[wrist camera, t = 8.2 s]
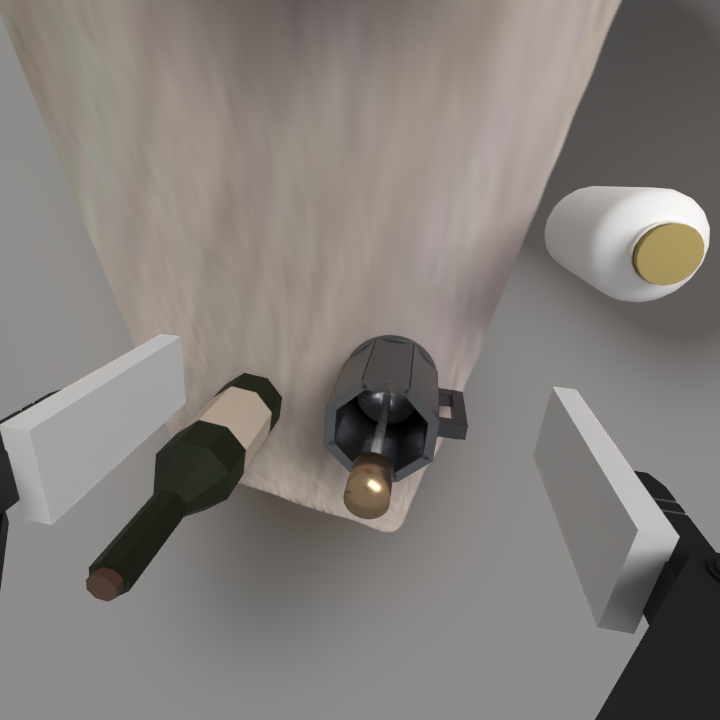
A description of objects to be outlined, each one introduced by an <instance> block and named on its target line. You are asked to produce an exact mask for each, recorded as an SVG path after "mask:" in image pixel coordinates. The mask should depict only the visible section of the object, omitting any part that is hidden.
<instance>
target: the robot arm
mask: <svg viewBox="0 0 720 720" xmlns="http://www.w3.org/2000/svg"><path fill="white" fill-rule="evenodd" d="M185 404H186V398H185V385H184V371H183V358H182V345H181V336H174V335H167V334H160V335H158V336H156V337H154V338H153V339H151V340H149V341H147V342H146V343H144V344H142V345H140V346H138V347H137V348H135V349H133V350H131V351H130V352H128V353H126V354H124V355H123V356H121V357H119V358H117V359H115V360H114V361H112V362H110V363H108V364H107V365H105V366H103V367H101V368H99V369H98V370H96V371H94V372H92V373H91V374H89V375H87V376H85V377H84V378H82V379H80V380H78V381H76V382H75V383H73V384H71V385H69V386H68V387H66V388H64V389H61V390H58V391H55V392H52V393H49V394H47V395H46V396H44V397H42V398H40V399H39V400H37V401H35V402H34V404H32V403H31V404H29V405H28V406H26V407H24V408H22V411H17V412H15V413H13V414H12V415H10V416H8V417H6V418H4V419H3V420H1V421H0V587H1V580H2V571H3V564H4V556H5V549H6V541H7V533H8V525H9V522H8V518H7V514H6V510H7V509H8V508H10V507H11V506H12V505H14V504H15V503H16V502H18V501H19V503H20V507H21V511H22V514H23V518H24V520H29V521H34V522H39V523H44V524H50V525H52V524H53V523H54V522H55V521H56V520H57V519H59V517H61V516H62V515H63V514H64V513H65V512H66V511H67V510H68V509H70V508H71V507H72V506H73V505H74V504H75V503H76V502H77V501H78V500H80V499H81V498H82V497H83V496H84V495H85V494H86V493H87V492H88V491H90V490H91V489H92V488H93V487H94V486H95V485H96V484H97V483H98V482H99V481H101V480H102V479H103V478H104V477H105V476H106V475H107V474H108V473H109V472H111V470H113V469H114V468H115V467H116V466H117V465H118V464H119V463H120V462H122V461H123V460H124V459H125V458H126V457H127V456H128V455H129V454H130V453H132V452H133V451H134V450H135V449H136V448H137V447H138V446H139V445H140V444H141V443H142V442H144V441H145V440H146V439H147V438H148V437H149V436H150V435H151V434H153V433H154V432H155V431H156V430H157V429H158V428H159V427H160V426H161V425H162V424H164V423H165V422H166V421H167V420H168V419H169V418H170V417H171V416H172V415H174V414H175V413H176V412H177V411H178V410H179V409H180V408H181V407H182V406H183V405H185ZM533 457H534V459H535V462H536V465H537V467H538V470H539V473H540V475H541V478H542V480H543V483H544V486H545V488H546V491H547V494H548V496H549V499H550V502H551V504H552V507H553V510H554V512H555V515H556V518H557V520H558V523H559V526H560V528H561V531H562V534H563V536H564V539H565V542H566V544H567V547H568V550H569V552H570V555H571V558H572V560H573V563H574V566H575V568H576V571H577V574H578V576H579V579H580V582H581V584H582V587H583V590H584V592H585V595H586V598H587V600H588V603H589V605H590V608H591V611H592V614H593V616H594V619H595V622H596V624H597V627H600V628H605V629H611V630H616V631H621V632H627V633H632V634H634V633H635V631H636V629H637V626H638V625H639V622H640V620H641V618H642V616H643V614H644V616H645V618H646V620H647V622H648V624H649V628H648V629H647V631H646V633H645V635H644V636H643V638H642V640H641V641H640V643H639V645H638V647H637V648H636V650H635V652H634V653H633V655H632V657H631V659H630V660H629V662H628V664H627V665H626V667H625V669H624V671H623V672H622V674H621V676H620V678H619V679H618V681H617V683H616V685H615V686H614V688H613V690H612V691H611V693H610V695H609V696H608V698H607V700H606V702H605V703H604V705H603V707H602V709H601V710H600V712H599V714H598V715H597V717H596V719H595V720H720V553H716V552H715V550H714V549H713V548H712V546H711V545H710V544H709V543H708V541H707V540H706V539H705V537H704V536H703V535H702V534H701V532H700V531H699V530H698V528H697V527H696V526H695V524H694V523H693V522H692V520H691V519H690V518H689V517H688V516H687V515H685V511H684V510H683V509H682V508H681V506H680V505H679V504H678V503H676V500H675V498H674V497H673V496H672V495H671V493H670V492H669V491H668V489H667V488H666V487H665V486H664V485H663V484H661V483H660V482H659V481H657V480H656V479H655V478H653V477H652V476H651V475H649V474H648V473H644V472H638V471H633V470H632V468H631V467H630V466H629V464H628V463H627V461H626V460H625V458H624V457H623V455H622V454H621V453H620V451H619V450H618V448H617V447H616V446H615V444H614V443H613V441H612V440H611V438H610V437H609V436H608V434H607V433H606V431H605V430H604V428H603V427H602V426H601V424H600V423H599V421H598V420H597V419H596V417H595V416H594V414H593V413H592V412H591V410H590V409H589V407H588V406H587V404H586V403H585V401H584V400H583V399H582V397H581V396H580V394H579V393H578V391H577V390H575V389H567V388H560V387H552V390H551V394H550V397H549V401H548V404H547V408H546V412H545V415H544V419H543V422H542V426H541V430H540V433H539V437H538V440H537V444H536V447H535V451H534V455H533Z"/></svg>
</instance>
